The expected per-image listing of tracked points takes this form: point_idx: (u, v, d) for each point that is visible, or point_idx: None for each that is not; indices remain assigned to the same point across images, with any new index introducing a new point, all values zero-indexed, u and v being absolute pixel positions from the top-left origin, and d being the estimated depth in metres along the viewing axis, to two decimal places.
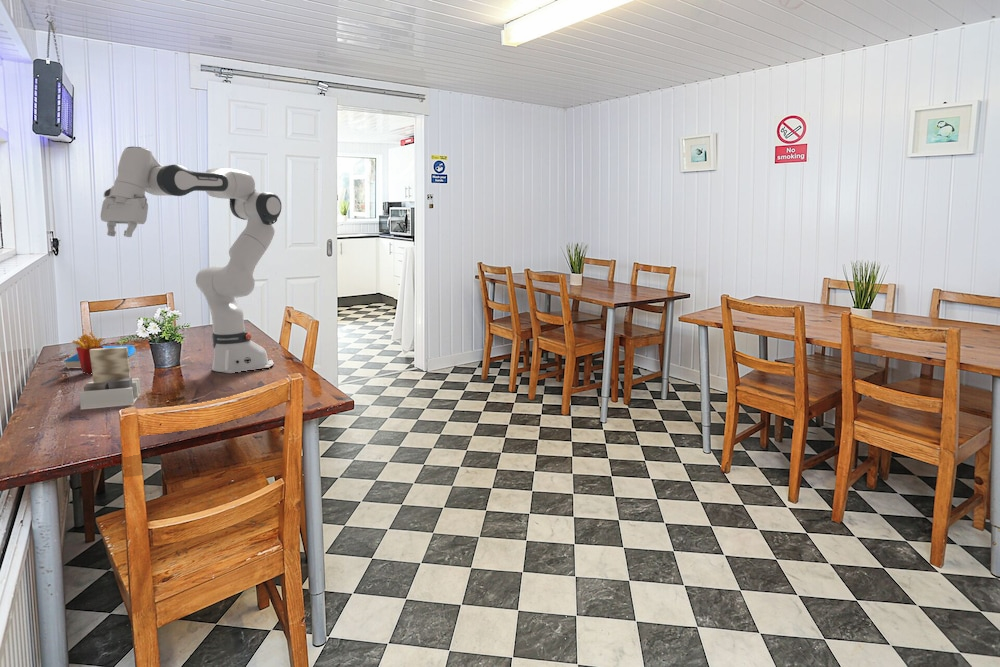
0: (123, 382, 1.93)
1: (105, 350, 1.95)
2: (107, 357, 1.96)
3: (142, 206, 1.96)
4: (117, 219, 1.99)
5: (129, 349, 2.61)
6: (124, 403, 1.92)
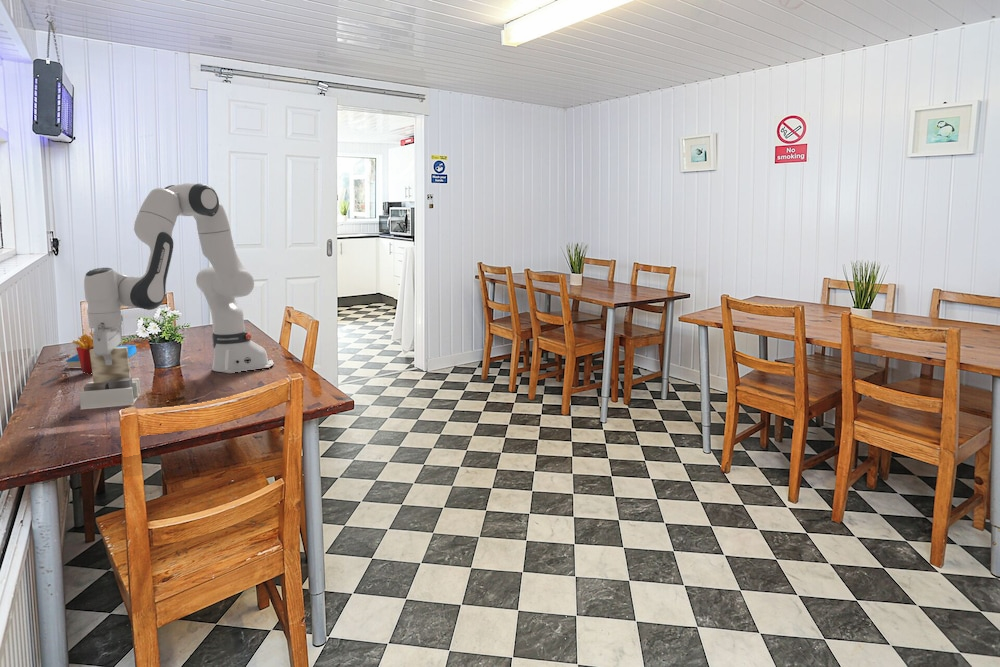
0: (123, 382, 1.93)
1: None
2: None
3: (97, 339, 1.86)
4: None
5: (130, 349, 2.61)
6: (124, 403, 1.92)
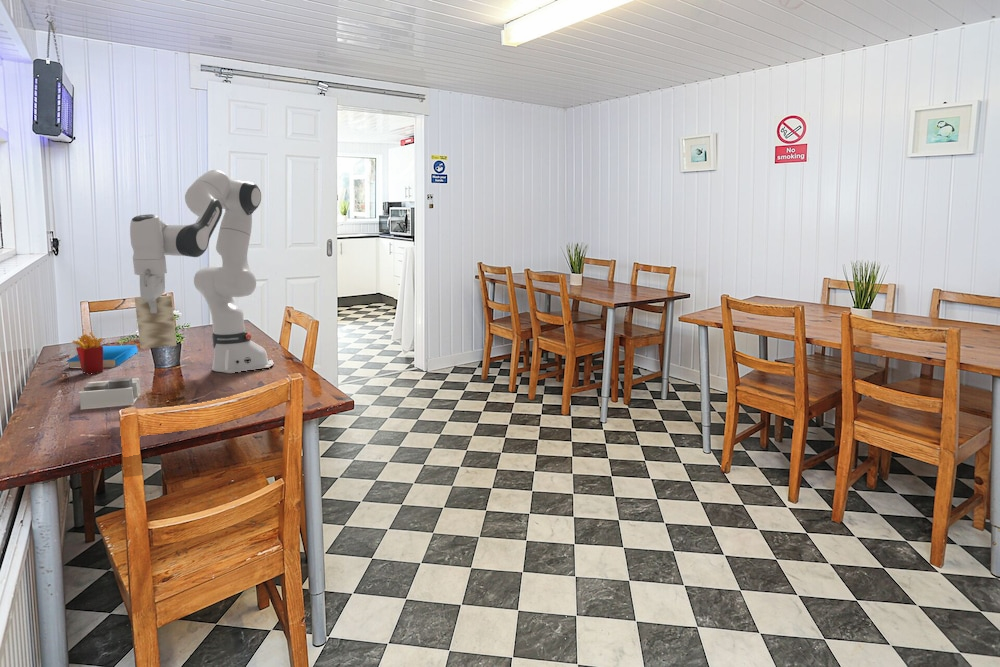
0: (123, 382, 1.93)
1: None
2: None
3: (144, 284, 1.85)
4: None
5: (132, 349, 2.61)
6: (124, 403, 1.92)
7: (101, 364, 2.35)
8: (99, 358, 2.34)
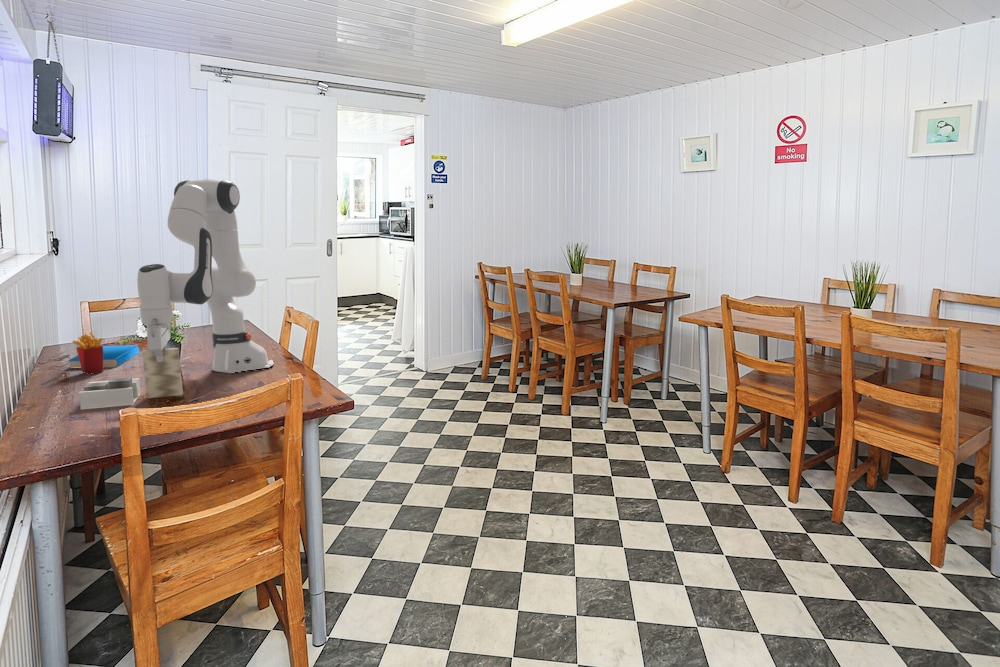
0: (123, 382, 1.93)
1: None
2: None
3: (151, 335, 1.88)
4: None
5: (133, 349, 2.61)
6: (124, 403, 1.92)
7: (101, 364, 2.35)
8: (99, 358, 2.34)
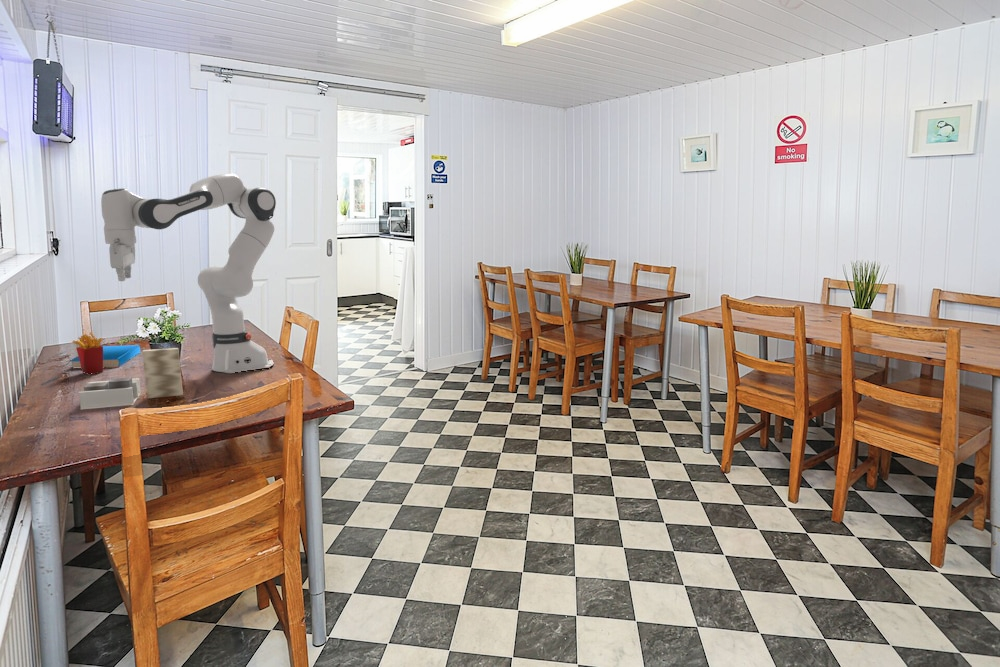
0: (123, 382, 1.93)
1: (157, 351, 1.97)
2: (159, 358, 1.98)
3: (113, 252, 2.00)
4: None
5: (135, 349, 2.61)
6: (124, 403, 1.92)
7: (101, 364, 2.35)
8: (99, 358, 2.34)
